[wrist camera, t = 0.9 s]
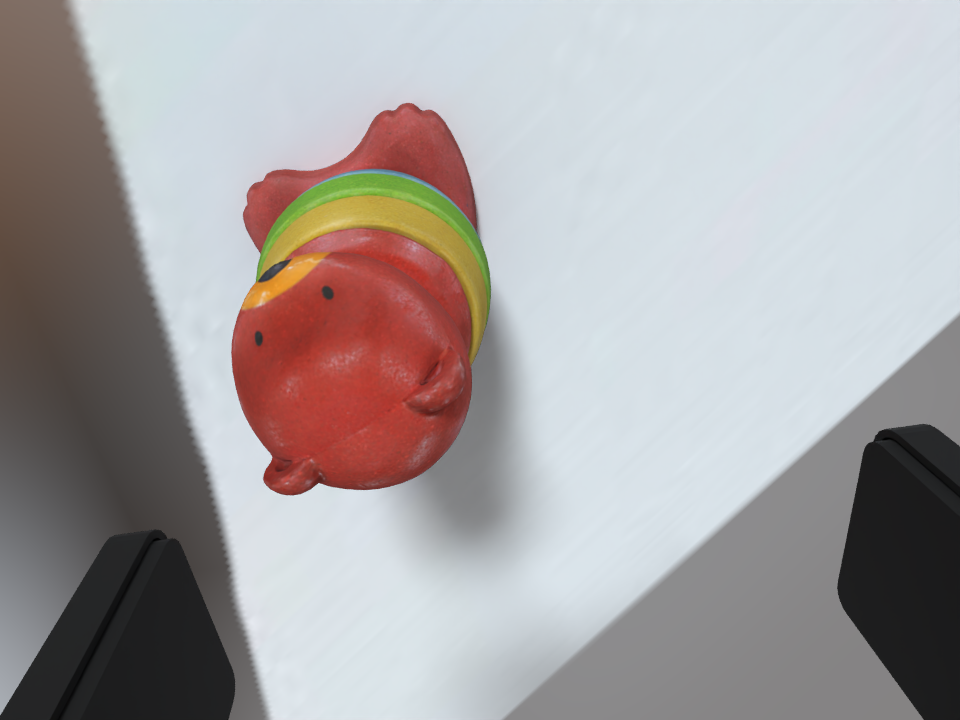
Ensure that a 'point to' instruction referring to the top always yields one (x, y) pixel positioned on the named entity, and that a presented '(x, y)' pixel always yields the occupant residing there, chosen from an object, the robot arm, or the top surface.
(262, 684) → the top surface
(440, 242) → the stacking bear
